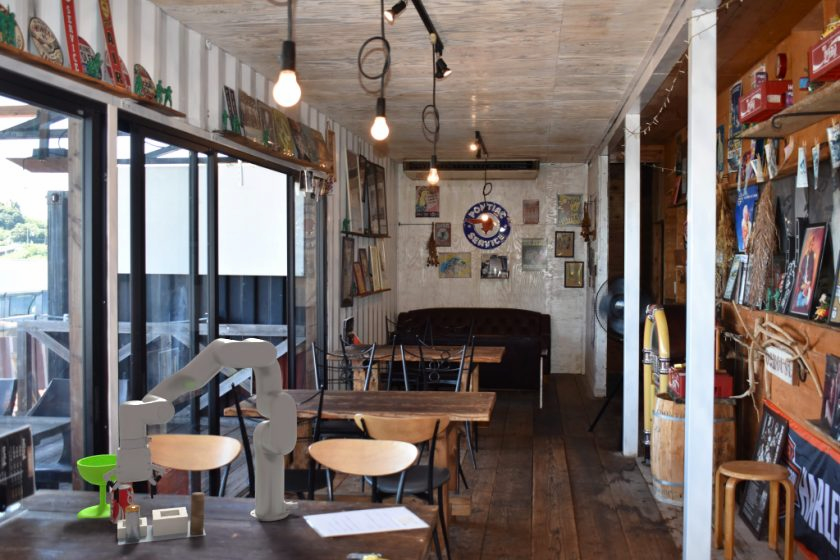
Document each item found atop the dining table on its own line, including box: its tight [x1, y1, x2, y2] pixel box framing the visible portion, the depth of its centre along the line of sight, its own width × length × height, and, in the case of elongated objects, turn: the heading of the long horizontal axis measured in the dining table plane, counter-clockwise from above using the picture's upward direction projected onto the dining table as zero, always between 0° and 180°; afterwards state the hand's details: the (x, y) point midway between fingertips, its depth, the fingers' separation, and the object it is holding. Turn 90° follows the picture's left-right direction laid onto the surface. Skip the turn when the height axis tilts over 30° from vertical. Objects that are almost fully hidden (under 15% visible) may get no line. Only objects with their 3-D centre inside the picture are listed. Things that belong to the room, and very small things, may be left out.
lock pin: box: [125, 504, 141, 544], centre depth 230 cm, size 4×4×10 cm
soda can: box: [109, 483, 135, 525], centre depth 249 cm, size 7×7×12 cm
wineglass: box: [76, 454, 117, 519], centre depth 258 cm, size 16×16×18 cm
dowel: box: [189, 491, 206, 535], centre depth 237 cm, size 4×4×12 cm
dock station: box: [117, 506, 207, 546], centre depth 238 cm, size 25×15×6 cm, turn 111°
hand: (135, 499), depth 231 cm, fingers open, 9 cm apart
